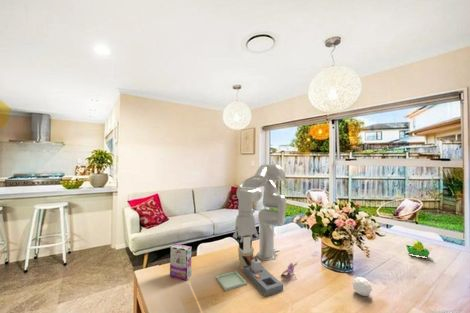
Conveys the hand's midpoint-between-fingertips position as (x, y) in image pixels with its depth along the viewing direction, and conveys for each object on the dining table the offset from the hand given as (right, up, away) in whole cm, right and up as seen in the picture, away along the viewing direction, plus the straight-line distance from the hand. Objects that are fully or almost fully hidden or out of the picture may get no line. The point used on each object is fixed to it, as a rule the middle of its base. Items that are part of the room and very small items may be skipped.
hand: (245, 247), depth 106 cm
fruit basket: (+121, -21, +33) cm, 127 cm away
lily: (+26, -20, +7) cm, 33 cm away
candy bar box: (-36, -19, +6) cm, 41 cm away
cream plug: (0, -2, 0) cm, 2 cm away
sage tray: (-7, -19, +1) cm, 20 cm away
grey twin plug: (+6, -19, +7) cm, 21 cm away
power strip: (+9, -19, +2) cm, 21 cm away
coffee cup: (+1, -20, +16) cm, 25 cm away
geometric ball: (+57, -20, -7) cm, 61 cm away
